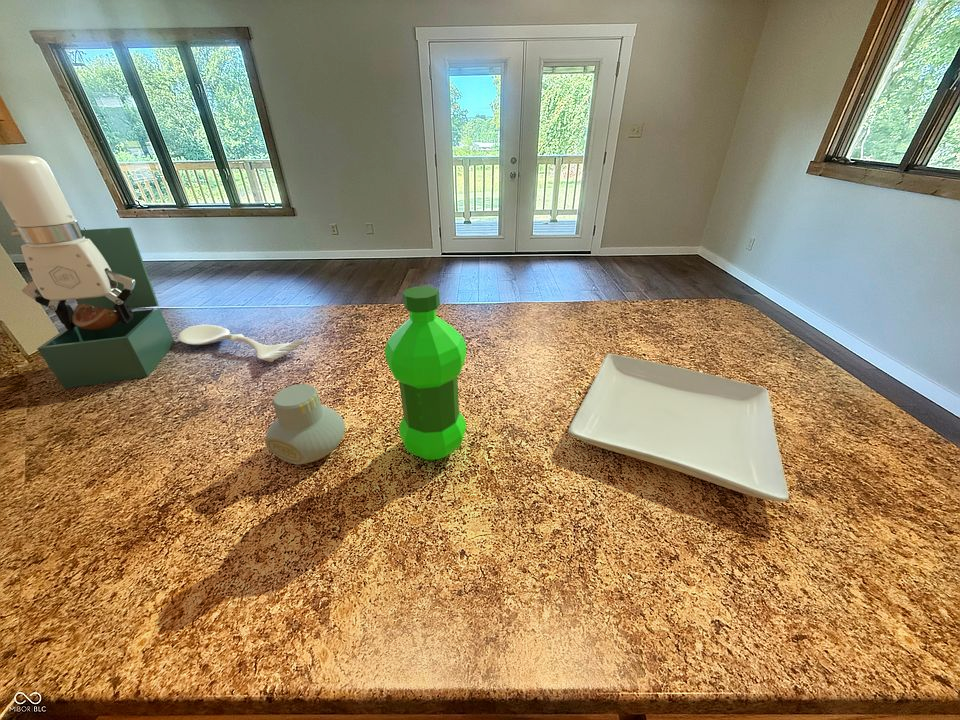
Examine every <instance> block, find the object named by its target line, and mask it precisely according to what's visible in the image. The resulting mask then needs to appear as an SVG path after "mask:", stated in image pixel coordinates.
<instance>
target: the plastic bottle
mask: <svg viewBox="0 0 960 720" xmlns="http://www.w3.org/2000/svg"><path fill="white" fill-rule="evenodd" d="M402 297H403V306H404V308H405V310H406V311H407V312H409V318H408V319H406V320H405V322H403V323H402V324H401V325H400V326H399V327H398V328H397V329H396V330H395V331H394V332H393V333H392V335H391V336H390V338H388V340H386V344H385V346H384V347H385V348H384V357H385V361H386V363H387V366H388V368H389V370H390V372H391V373H392V375H393V377H394V379H395V380H396V381H398V384H399V391H400V398H401V407H402V414H403V418H402V419H401V421H400V424H399V427H398V433H399V437H400V439H401V441H402V443H403V445H404V447H405V449H406V450H407V452H408V453H409V454H411V455H414V456H416V457H419V458H422V459H423V460H427V461H435V460H442V459H444V458H446V457H448V456H449V455H450V454H452V453H453V452H455V451H457V450H458V449H459V448H460V447H461V445H462V442H463V439H464V436H465V433H466V430H467V422H466V420H465V418H464V416H463V415H462V413H461V412H460V405H459V404H460V402H459V379H458V378H459V375H461V371H462V370H463V366H464V364H465V363H466V356H467V344H466V341H465V339H464V337H463V335H462V334H461V333H460V332H459V331H458V330H457V329H456V328H454V327H453V326H452V325H451V324H450V323H448V322H446V320H444V319H442V318H440V317H439V316H437V309H438V308H440V305H441V302H440V301H441V300H440V290H439V289H437V288H436V287H434V286H427V285H420V286H413V287H409V288H406V289H405V290H404V291H403V292H402Z"/></svg>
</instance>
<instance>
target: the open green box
mask: <svg viewBox="0 0 960 720" xmlns="http://www.w3.org/2000/svg"><path fill="white" fill-rule="evenodd" d="M132 312H133V319H132V320H131V321H130V322H129V323H127V324H123V323H122V322H121V320H120V321H119V322H118V323H117V324H115V325H114V326H112V327H110V328H107V329H101V330H89V329H83V328H80V327H78V326H76V327H74V328H73V329H71V330H67V329H66V328H65V329H64V328H63V330H61V331H60V332H59V333H57V334H56V335H54V336H53V337H52V338H50V339H48V340H47V341H46V342H44V343H43V344H42V345H40V346H39V347H37V348H36V349H37V351H38V352H39V354H40V356H41V357H42V358H43V360H44V361H45V363H46V364H47V366H48V367H49V369H50V371H51V372H52V373H53V375H54V376H55V378H56V379H57V381H58V382H59V384H60V385H61V387H62V388H63V389H64V390H67V389H73V388H72V387H74V388H79V387H80V386H81V387H87V386H94V385H99V384H100V385H102V384H108V383H114V382H122V381H129V380H135V379H136V380H137V379H142V378H149V377H150V376H151V374H152V373H153V371H154V370H155V369H156V368H157V366H158V365H159V364H160V363H161V361H162V360H163V358H164V357H166V355H167V354H168V352H170V350H171V349H172V347H173V346H174V345H175V344H176V341H175V339H174V337H173V335H172V332H171V330H170V328H169V326H168V324H167V322H166V320H165V317H164V315H163V312H162V310H161V308H160V307H154V308H153V307H151V308H142V309H136V310H135V309H133V310H132Z"/></svg>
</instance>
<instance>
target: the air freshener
mask: <svg viewBox="0 0 960 720" xmlns="http://www.w3.org/2000/svg"><path fill="white" fill-rule="evenodd" d="M271 402H272V406H273V408H274V409H273V410H274V412H275V414H276V419H275V420H274V421H273V422H272V423H271V425H270V426H269V428H268V429H267V431H266V434H265V439H264V440H265V445H266V447H267V449H268V450H269V451H270V452H271V453H272V454H273V455H274V456H276V457H277V458H279V459H280V460H281V461H284V462H287V463H289V464H293V465H305V464H309V463H313V462H317V461H318V460H321V459H323V458H325V457H326V456H328V455H329V454H331V453H332V452H333V451H334V450H335V449H336V448H337V447H338V446H339V445H340V443H341V442H342V440H343V438H344V435H345V431H346V423H345V419H344V418H343V417H342V416H341V414H339V413H338V412H337V411H336V410H334V409H332V408H330V407H329V406H326V405H323V404H322V403H321V399H320V395H319V392H318V389H317V388H316V387H315V386H313V385H310V384H307V383H299V384H292V385H289V386H286V387H285V388H283V389H281V390H280V391H278V392H277V393H276V394H275V395H274V397H273V398H272V401H271Z"/></svg>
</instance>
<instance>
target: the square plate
mask: <svg viewBox="0 0 960 720" xmlns="http://www.w3.org/2000/svg"><path fill="white" fill-rule="evenodd" d="M574 415H575V416H574V417H573V419H572V421H571V423H570V425H569V428H568V434H569V435H570V436H573V438H576V440H580V441H582V442H584V443H586V444H589V445H592V446H594V447H595V446H596V447H597V448H601V449H604V450H608V451H610V452H614V453H618V454H621V455H625V456H628V457H631V458H634V459H638V460H641V461H645V462H648V463H652V464H654V465H658V466H661V467H664V468H667V469H670V470H673V471H676V472H679V473H682V474H686V475H688V476H691V477H694V478H697V479H700V480H703V481H706V482H708V483H712V484H713V485H714V484H715V485H716V486H719V487H723V488H725V489H728V490H731V491H734V492H738V493H741V494H744V495H747V496H749V497H754V498H757V499H760V500H765V501H773V502H778V503H780V502H781V503H782V502H788V501H789V499H790V494H789V489H788V483H787V479H786V475H785V470H784V467H783V462H782V457H781V452H780V447H779V444H778V438H777V433H776V428H775V427H776V426H775V421H774V415H773V409H772V405H771V398H770V393H769V391H768V389H767V388H766V387H763V386H760V385H756V384H752V383H748V382H744V381H739V380H736V379H731V378H727V377H723V376H718V375H714V374H711V373H706V372H702V371H697V370H694V369H689V368H684V367H680V366H675V365H671V364H666V363H661V362H656V361H652V360H647V359H640V358H635V357H630V356H625V355H622V354H621V355H620V354H615V353H607V354H606V355H605V356H604V359H603V361H602V362H601V365H600V367H599V368H598V371H597V373H596V375H595V378H594V380H593V382H592V384H591V385H590V388H589V390H588V392H587V394H586V396H585V397H584V399H583V401H582V403H581V404H580V406H579V408H578V410H577V412H576V414H574Z"/></svg>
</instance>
